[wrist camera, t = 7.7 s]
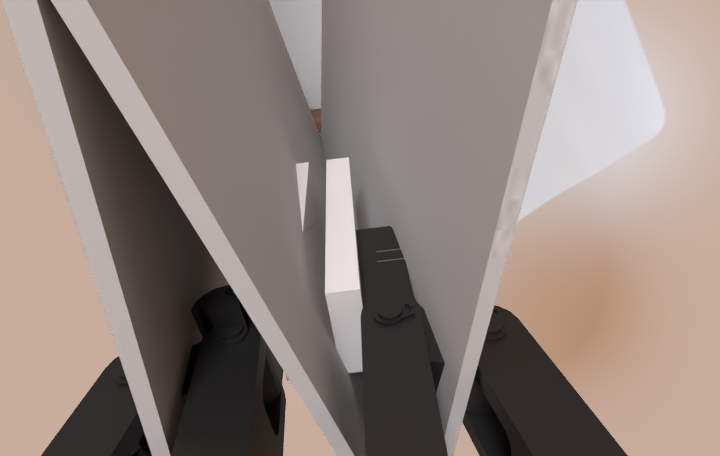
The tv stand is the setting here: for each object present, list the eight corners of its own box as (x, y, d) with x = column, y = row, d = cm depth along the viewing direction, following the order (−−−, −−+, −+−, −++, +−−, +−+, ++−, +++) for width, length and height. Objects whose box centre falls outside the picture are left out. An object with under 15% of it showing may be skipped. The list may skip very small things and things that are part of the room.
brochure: (324, 149, 37) (421, 570, 12) (256, 149, 36) (201, 607, 11) (326, -53, 29) (607, -107, 4) (241, -59, 29) (-55, -167, 3)
